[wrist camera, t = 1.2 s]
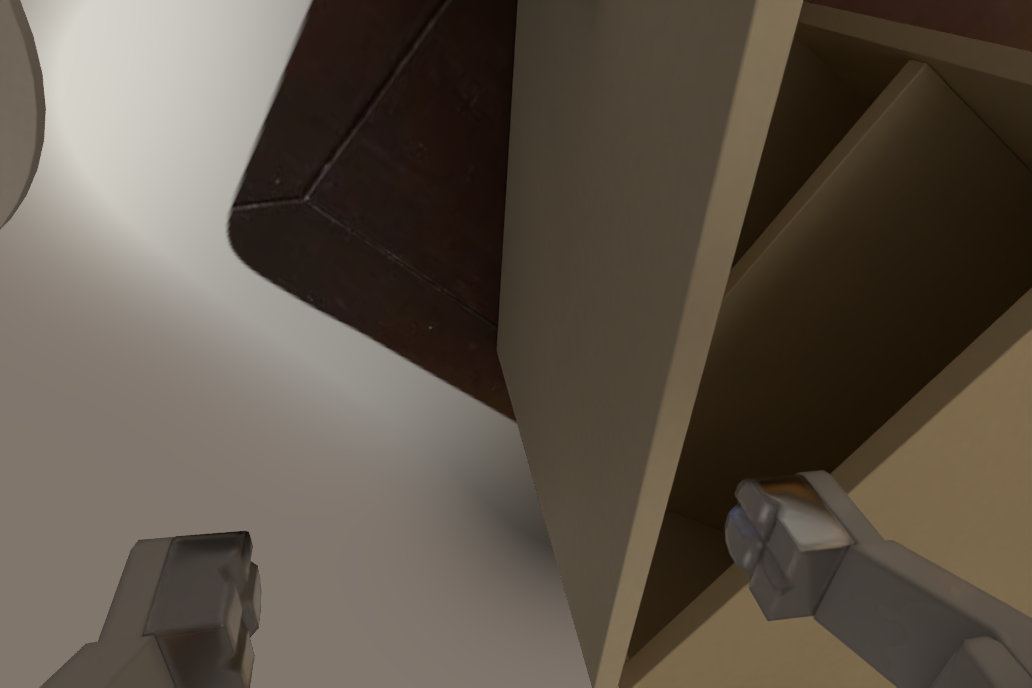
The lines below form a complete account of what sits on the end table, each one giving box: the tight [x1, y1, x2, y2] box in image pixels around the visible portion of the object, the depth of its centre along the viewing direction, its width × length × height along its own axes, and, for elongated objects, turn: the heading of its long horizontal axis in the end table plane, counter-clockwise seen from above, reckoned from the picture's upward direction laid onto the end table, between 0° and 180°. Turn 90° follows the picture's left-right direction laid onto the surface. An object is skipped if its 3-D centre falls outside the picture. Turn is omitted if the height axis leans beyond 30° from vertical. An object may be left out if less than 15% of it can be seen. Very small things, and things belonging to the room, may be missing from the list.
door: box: [497, 0, 803, 688], centre depth 27 cm, size 7×26×24 cm, turn 176°
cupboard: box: [618, 2, 1032, 688], centre depth 34 cm, size 18×26×24 cm
